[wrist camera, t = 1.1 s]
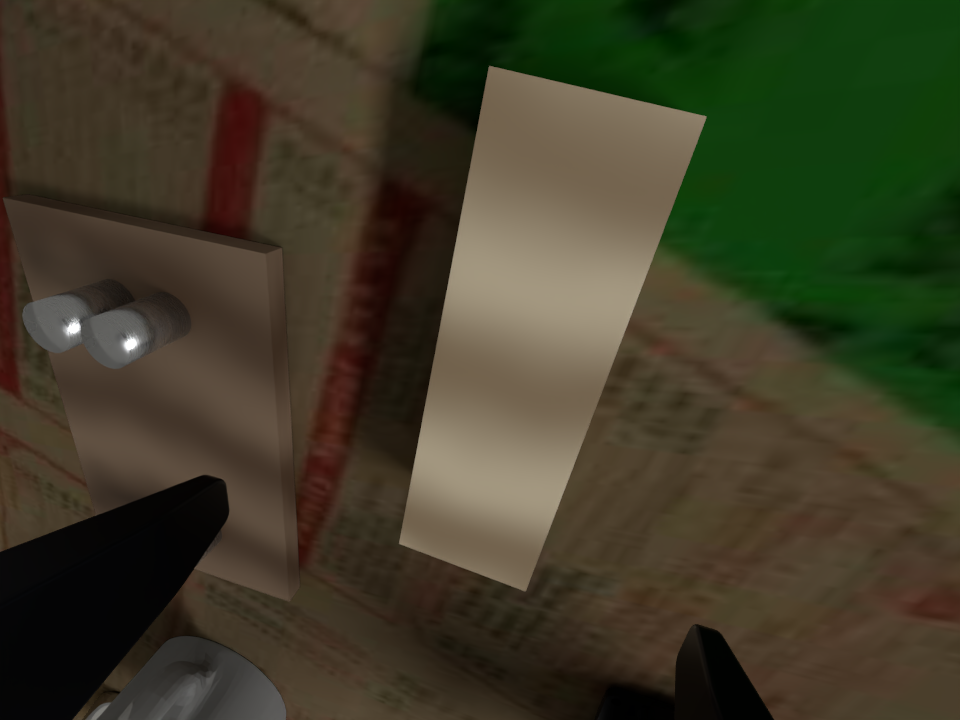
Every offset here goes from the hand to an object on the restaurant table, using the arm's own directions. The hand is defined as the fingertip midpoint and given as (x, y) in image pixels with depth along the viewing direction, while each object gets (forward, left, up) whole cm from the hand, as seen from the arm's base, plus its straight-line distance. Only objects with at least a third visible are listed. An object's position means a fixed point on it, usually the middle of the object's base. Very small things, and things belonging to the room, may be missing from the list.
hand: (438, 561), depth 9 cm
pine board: (0, 0, -11) cm, 11 cm away
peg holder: (-8, +16, -10) cm, 21 cm away
